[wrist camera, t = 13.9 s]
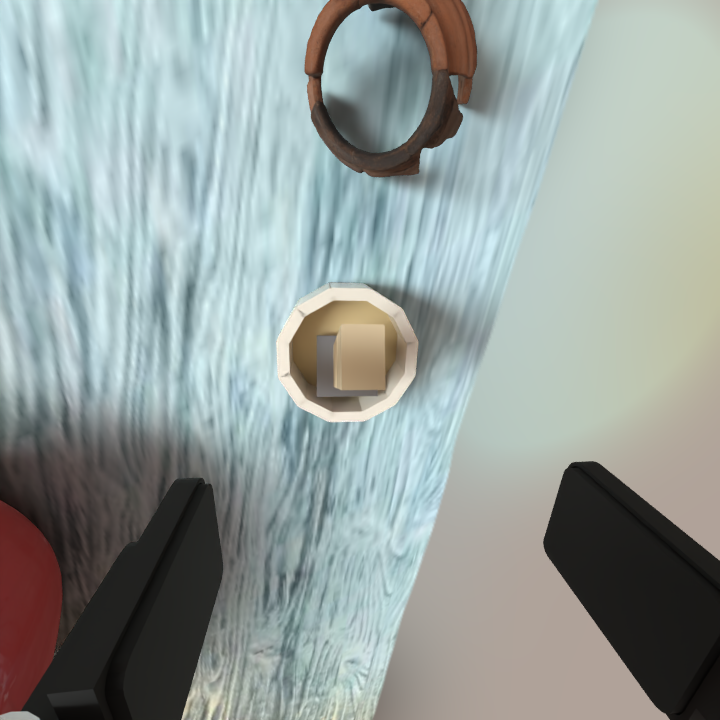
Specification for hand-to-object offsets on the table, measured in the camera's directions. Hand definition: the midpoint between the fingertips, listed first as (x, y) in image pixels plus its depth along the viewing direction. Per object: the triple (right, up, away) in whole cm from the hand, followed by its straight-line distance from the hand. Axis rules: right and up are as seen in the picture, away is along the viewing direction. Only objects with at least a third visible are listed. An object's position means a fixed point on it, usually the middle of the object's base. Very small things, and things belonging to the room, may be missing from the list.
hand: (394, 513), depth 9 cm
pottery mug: (+2, +23, +13) cm, 27 cm away
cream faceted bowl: (-2, +5, +17) cm, 18 cm away
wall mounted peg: (-2, +4, +17) cm, 17 cm away
